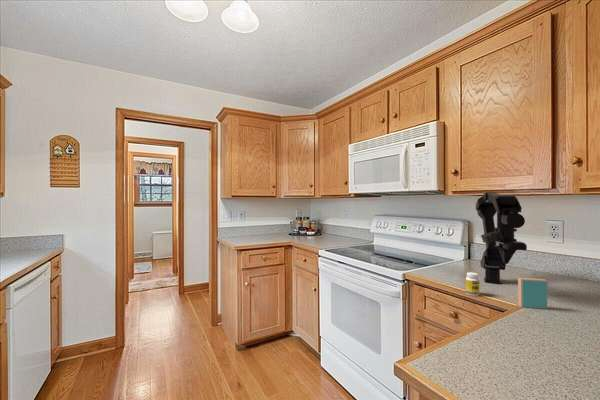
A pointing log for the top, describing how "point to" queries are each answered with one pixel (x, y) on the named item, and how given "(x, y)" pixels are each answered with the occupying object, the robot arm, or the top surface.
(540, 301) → the tile
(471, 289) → the supplement bottle
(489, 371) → the top surface
